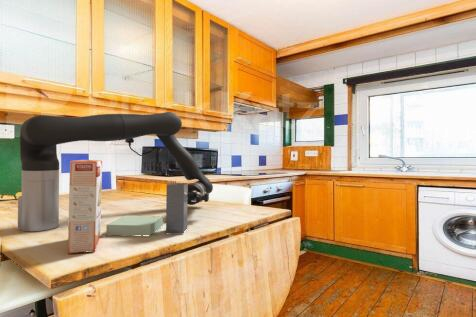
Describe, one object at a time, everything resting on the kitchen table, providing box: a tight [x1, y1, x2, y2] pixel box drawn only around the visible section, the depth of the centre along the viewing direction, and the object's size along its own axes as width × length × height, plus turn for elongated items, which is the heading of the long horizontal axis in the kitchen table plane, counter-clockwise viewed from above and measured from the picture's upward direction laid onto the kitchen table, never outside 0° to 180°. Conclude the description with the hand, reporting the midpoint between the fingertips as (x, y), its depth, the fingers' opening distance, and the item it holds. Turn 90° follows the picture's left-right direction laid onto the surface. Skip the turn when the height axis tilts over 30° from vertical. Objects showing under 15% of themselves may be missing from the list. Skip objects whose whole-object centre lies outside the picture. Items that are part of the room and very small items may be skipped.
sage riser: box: [105, 215, 164, 237], centre depth 85 cm, size 12×12×3 cm
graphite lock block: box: [165, 182, 189, 234], centre depth 84 cm, size 5×5×14 cm
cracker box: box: [67, 159, 103, 255], centre depth 71 cm, size 14×6×21 cm, turn 21°
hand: (183, 199), depth 93 cm, fingers open, 8 cm apart
